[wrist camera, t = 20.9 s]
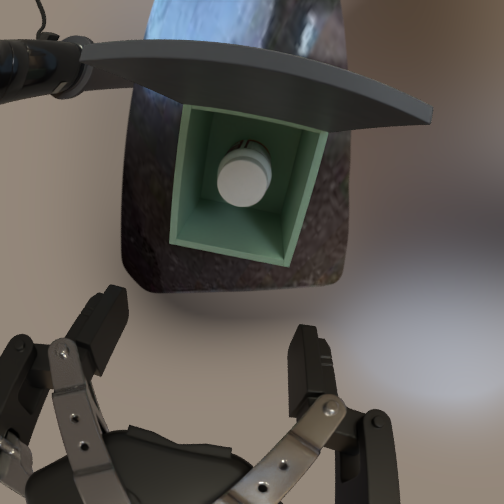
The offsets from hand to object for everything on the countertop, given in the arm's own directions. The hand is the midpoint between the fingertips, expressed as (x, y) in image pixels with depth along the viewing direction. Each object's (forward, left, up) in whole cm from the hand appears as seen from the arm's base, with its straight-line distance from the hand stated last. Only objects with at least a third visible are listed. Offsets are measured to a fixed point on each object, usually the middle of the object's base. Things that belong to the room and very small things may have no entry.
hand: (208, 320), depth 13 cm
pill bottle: (0, 0, -30) cm, 30 cm away
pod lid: (-4, +8, -9) cm, 13 cm away
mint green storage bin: (0, 0, -31) cm, 31 cm away
